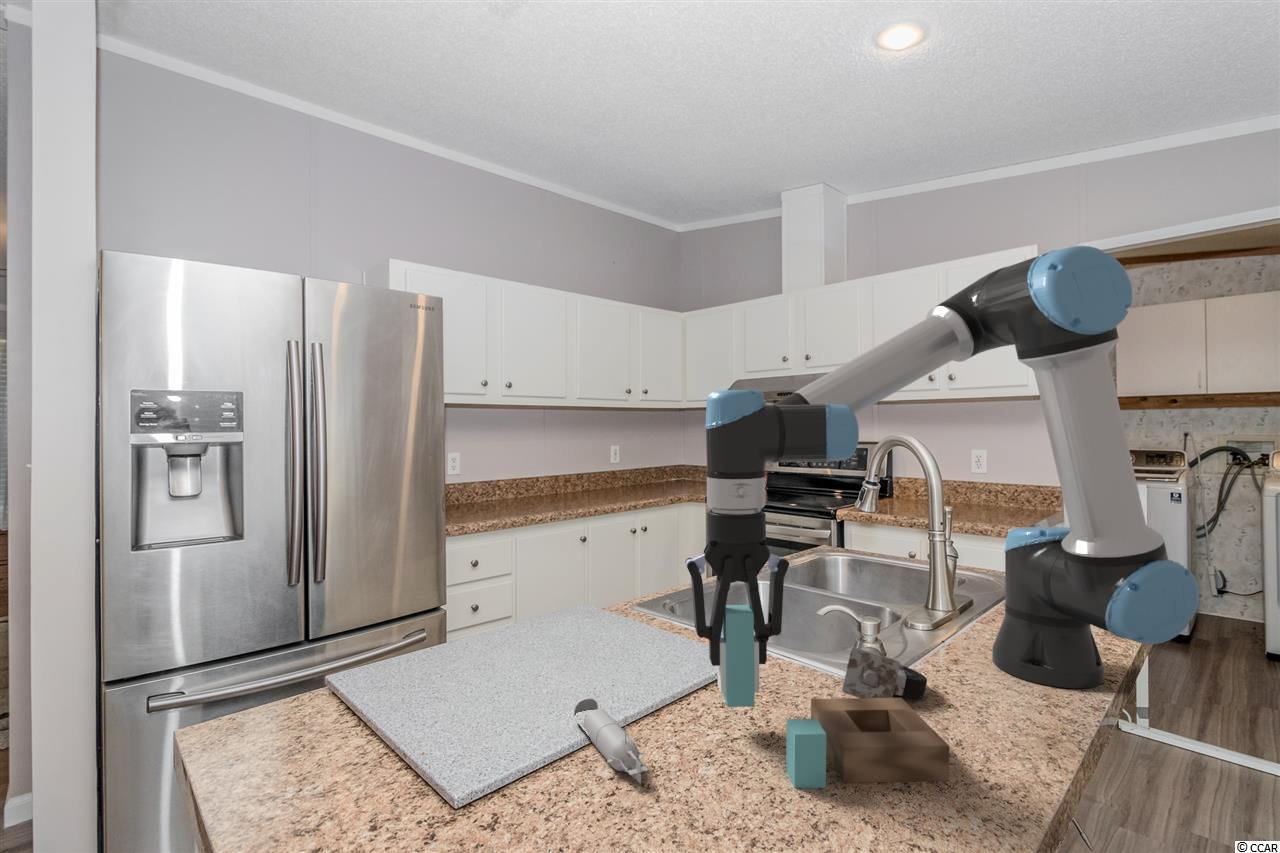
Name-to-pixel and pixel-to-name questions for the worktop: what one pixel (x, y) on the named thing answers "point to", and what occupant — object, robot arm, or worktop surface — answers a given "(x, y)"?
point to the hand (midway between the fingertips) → (738, 688)
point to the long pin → (739, 655)
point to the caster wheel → (880, 676)
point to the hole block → (880, 741)
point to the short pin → (806, 753)
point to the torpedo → (611, 739)
